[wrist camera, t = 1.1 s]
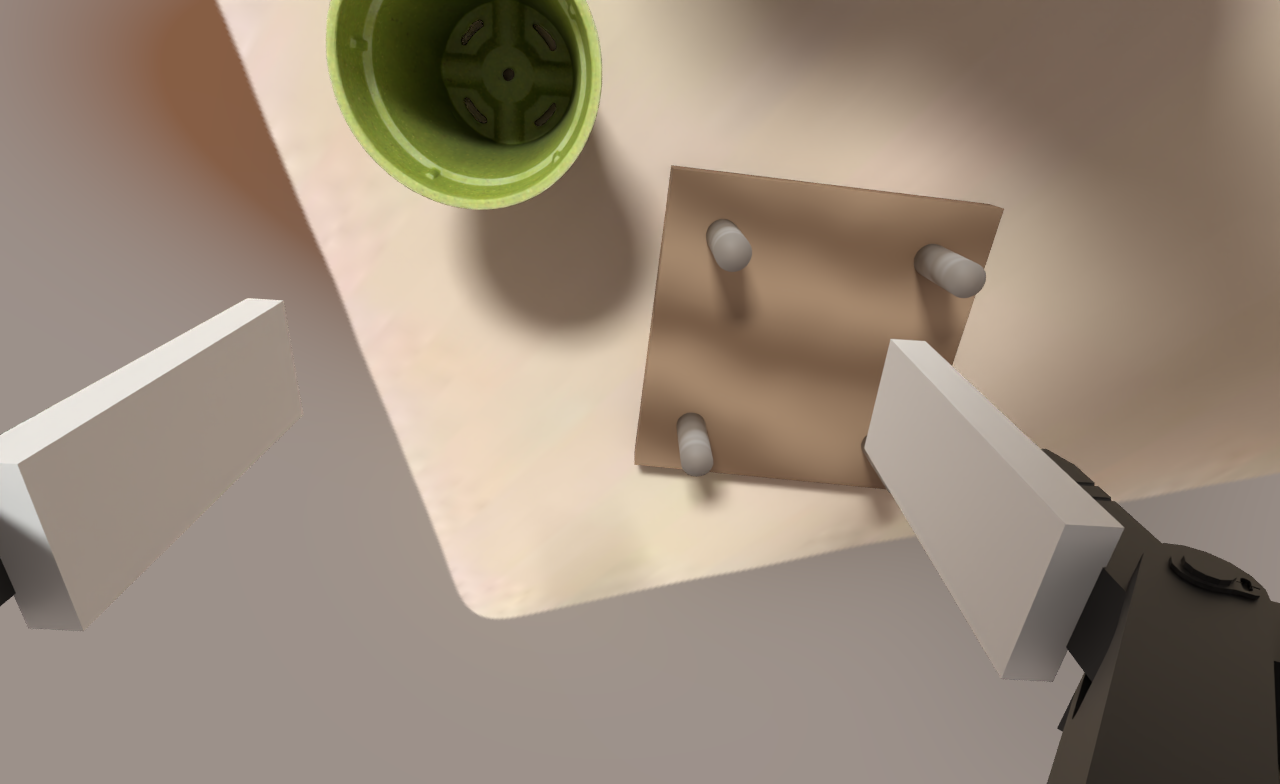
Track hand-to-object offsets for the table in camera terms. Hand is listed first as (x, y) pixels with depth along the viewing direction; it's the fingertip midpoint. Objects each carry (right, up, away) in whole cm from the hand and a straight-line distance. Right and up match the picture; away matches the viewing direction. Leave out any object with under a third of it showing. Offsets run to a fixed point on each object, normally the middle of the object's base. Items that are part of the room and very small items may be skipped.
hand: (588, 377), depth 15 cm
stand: (+10, +3, +21) cm, 24 cm away
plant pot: (-5, +14, +16) cm, 22 cm away
